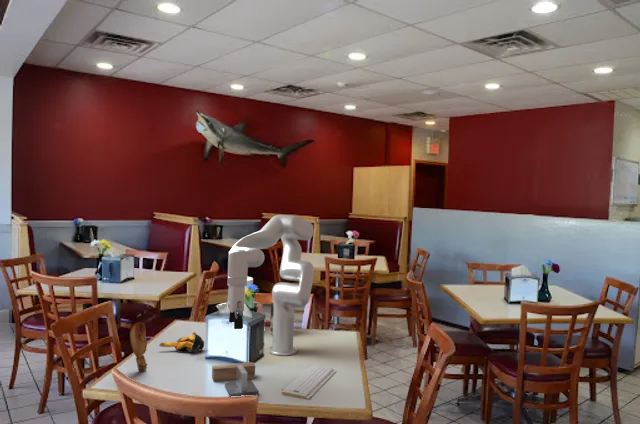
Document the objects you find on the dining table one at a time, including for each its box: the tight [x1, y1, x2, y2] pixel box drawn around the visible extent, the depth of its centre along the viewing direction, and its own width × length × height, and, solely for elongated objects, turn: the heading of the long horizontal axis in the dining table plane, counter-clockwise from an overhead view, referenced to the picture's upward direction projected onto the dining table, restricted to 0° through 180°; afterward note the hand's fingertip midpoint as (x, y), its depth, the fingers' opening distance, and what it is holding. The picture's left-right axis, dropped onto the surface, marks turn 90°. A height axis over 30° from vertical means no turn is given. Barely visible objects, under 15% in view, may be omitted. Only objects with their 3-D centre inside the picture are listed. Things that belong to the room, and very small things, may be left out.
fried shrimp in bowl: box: [159, 332, 205, 354], centre depth 225 cm, size 9×11×18 cm
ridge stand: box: [224, 365, 260, 397], centre depth 184 cm, size 11×10×8 cm
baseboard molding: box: [281, 365, 337, 400], centre depth 195 cm, size 31×3×12 cm
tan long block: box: [211, 361, 256, 382], centre depth 197 cm, size 4×16×5 cm, turn 110°
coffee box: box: [269, 302, 274, 336], centre depth 259 cm, size 9×6×16 cm
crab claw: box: [129, 321, 148, 372], centre depth 199 cm, size 7×5×20 cm
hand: (235, 325), depth 196 cm, fingers open, 9 cm apart
